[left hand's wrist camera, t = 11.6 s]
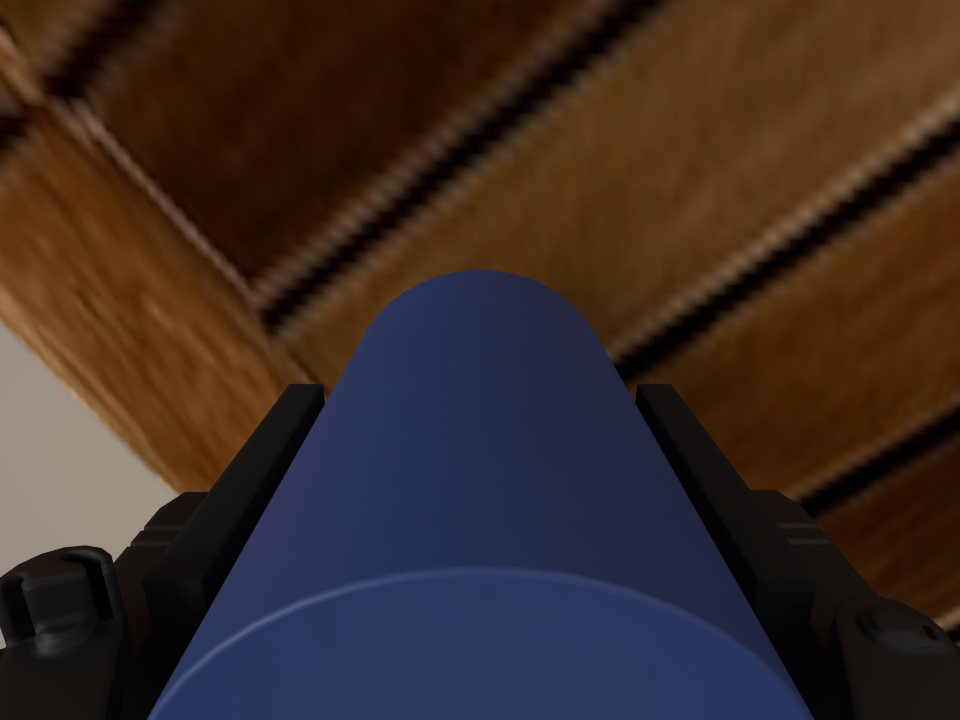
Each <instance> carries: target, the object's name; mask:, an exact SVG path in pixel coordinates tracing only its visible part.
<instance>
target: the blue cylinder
mask: <svg viewBox="0 0 960 720" xmlns="http://www.w3.org/2000/svg"><path fill="white" fill-rule="evenodd" d="M147 720H814V718H813V716H812V714H811V712H810V711H809V709H808V707H807V705H806V704H805V702H804V700H803V698H802V697H801V695H800V693H799V691H798V690H797V688H796V686H795V684H794V683H793V681H792V679H791V677H790V675H789V674H788V672H787V670H786V668H785V667H784V665H783V663H782V661H781V660H780V658H779V656H778V654H777V653H776V651H775V649H774V647H773V646H772V644H771V642H770V640H769V638H768V637H767V635H766V633H765V631H764V630H763V628H762V626H761V624H760V623H759V621H758V619H757V617H756V616H755V614H754V612H753V610H752V608H751V607H750V605H749V603H748V601H747V600H746V598H745V596H744V594H743V593H742V591H741V589H740V587H739V586H738V584H737V582H736V580H735V579H734V577H733V575H732V573H731V571H730V570H729V568H728V566H727V564H726V563H725V561H724V559H723V557H722V556H721V554H720V552H719V550H718V549H717V547H716V545H715V543H714V541H713V540H712V538H711V536H710V534H709V533H708V531H707V529H706V527H705V526H704V524H703V522H702V520H701V519H700V517H699V515H698V513H697V512H696V510H695V508H694V506H693V504H692V503H691V501H690V499H689V497H688V496H687V494H686V492H685V490H684V489H683V487H682V485H681V483H680V482H679V480H678V478H677V476H676V475H675V473H674V471H673V469H672V467H671V466H670V464H669V462H668V460H667V459H666V457H665V455H664V453H663V452H662V450H661V448H660V446H659V445H658V443H657V441H656V439H655V437H654V436H653V434H652V432H651V430H650V429H649V427H648V425H647V423H646V422H645V420H644V418H643V416H642V415H641V413H640V411H639V409H638V408H637V406H636V404H635V402H634V400H633V399H632V397H631V395H630V393H629V392H628V390H627V388H626V386H625V385H624V383H623V381H622V379H621V378H620V376H619V374H618V372H617V371H616V369H615V367H614V365H613V363H612V362H611V360H610V358H609V356H608V355H607V353H606V351H605V349H604V348H603V346H602V344H601V342H600V341H599V339H598V337H597V335H596V333H595V332H594V330H593V329H592V328H591V326H590V325H589V323H588V322H587V320H586V319H585V318H584V317H583V316H582V315H581V314H580V312H579V311H578V310H577V309H576V308H575V307H574V306H573V305H572V304H570V303H569V302H568V301H567V300H565V299H564V298H563V297H562V296H561V295H559V294H557V293H556V292H554V291H553V290H551V289H549V288H548V287H546V286H544V285H542V284H540V283H537V282H535V281H533V280H531V279H528V278H525V277H521V276H518V275H514V274H511V273H505V272H498V271H487V270H472V271H462V272H455V273H450V274H446V275H442V276H438V277H435V278H433V279H430V280H428V281H425V282H422V283H420V284H418V285H417V286H415V287H413V288H411V289H409V290H407V291H406V292H404V293H403V294H401V295H400V296H399V297H397V298H396V299H395V300H393V301H392V302H391V303H390V304H389V305H388V306H387V307H386V308H385V309H384V310H383V311H382V312H380V313H379V315H378V316H377V317H376V318H375V320H374V321H373V322H372V324H371V325H370V326H369V327H368V329H367V331H366V333H365V334H364V336H363V338H362V340H361V341H360V343H359V345H358V347H357V349H356V350H355V352H354V354H353V356H352V357H351V359H350V361H349V363H348V364H347V366H346V368H345V370H344V372H343V373H342V375H341V377H340V379H339V380H338V382H337V384H336V386H335V387H334V389H333V391H332V393H331V395H330V396H329V398H328V400H327V402H326V403H325V405H324V407H323V409H322V410H321V412H320V414H319V416H318V418H317V419H316V421H315V423H314V425H313V426H312V428H311V430H310V432H309V433H308V435H307V437H306V439H305V440H304V442H303V444H302V446H301V448H300V449H299V451H298V453H297V455H296V456H295V458H294V460H293V462H292V463H291V465H290V467H289V469H288V471H287V472H286V474H285V476H284V478H283V479H282V481H281V483H280V485H279V486H278V488H277V490H276V492H275V494H274V495H273V497H272V499H271V501H270V502H269V504H268V506H267V508H266V509H265V511H264V513H263V515H262V517H261V518H260V520H259V522H258V524H257V525H256V527H255V529H254V531H253V532H252V534H251V536H250V538H249V540H248V541H247V543H246V545H245V547H244V548H243V550H242V552H241V554H240V555H239V557H238V559H237V561H236V563H235V564H234V566H233V568H232V570H231V571H230V573H229V575H228V577H227V578H226V580H225V582H224V584H223V586H222V587H221V589H220V591H219V593H218V594H217V596H216V598H215V600H214V601H213V603H212V605H211V607H210V609H209V610H208V612H207V614H206V616H205V617H204V619H203V621H202V623H201V624H200V626H199V628H198V630H197V632H196V633H195V635H194V637H193V639H192V640H191V642H190V644H189V646H188V647H187V649H186V651H185V653H184V655H183V656H182V658H181V660H180V662H179V663H178V665H177V667H176V669H175V670H174V672H173V674H172V676H171V678H170V679H169V681H168V683H167V685H166V686H165V688H164V690H163V692H162V693H161V695H160V697H159V699H158V701H157V702H156V704H155V706H154V708H153V709H152V711H151V713H150V715H149V716H148V718H147Z"/></svg>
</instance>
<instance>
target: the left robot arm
mask: <svg viewBox="0 0 960 720" xmlns="http://www.w3.org/2000/svg"><path fill="white" fill-rule="evenodd" d="M635 404H636V406H637V408H638V409H639V411H640V413H641V415H642V416H643V418H644V420H645V422H646V423H647V425H648V427H649V429H650V430H651V432H652V434H653V436H654V437H655V439H656V441H657V443H658V445H659V446H660V448H661V450H662V452H663V453H664V455H665V457H666V459H667V460H668V462H669V464H670V466H671V467H672V469H673V471H674V473H675V475H676V476H677V478H678V480H679V482H680V483H681V485H682V487H683V489H684V490H685V492H686V494H687V496H688V497H689V499H690V501H691V503H692V504H693V506H694V508H695V510H696V512H697V513H698V515H699V517H700V519H701V520H702V522H703V524H704V526H705V527H706V529H707V531H708V533H709V534H710V536H711V538H712V540H713V541H714V543H715V545H716V547H717V549H718V550H719V552H720V554H721V556H722V557H723V559H724V561H725V563H726V564H727V566H728V568H729V570H730V571H731V573H732V575H733V577H734V579H735V580H736V582H737V584H738V586H739V587H740V589H741V591H742V593H743V594H744V596H745V598H746V600H747V601H748V603H749V605H750V607H751V608H752V610H753V612H754V614H755V616H756V617H757V619H758V621H759V623H760V624H761V626H762V628H763V630H764V631H765V633H766V635H767V637H768V638H769V640H770V642H771V644H772V646H773V647H774V649H775V651H776V653H777V654H778V656H779V658H780V660H781V661H782V663H783V665H784V667H785V668H786V670H787V672H788V674H789V675H790V677H791V679H792V681H793V683H794V684H795V686H796V688H797V690H798V691H799V693H800V695H801V697H802V698H803V700H804V702H805V704H806V705H807V707H808V709H809V711H810V712H811V714H812V716H813V718H814V720H960V646H956V645H954V644H953V643H952V641H951V640H950V639H949V637H948V636H947V634H946V633H945V631H944V630H943V629H942V628H941V627H939V626H938V625H937V624H936V623H935V622H933V621H932V620H931V619H930V618H928V617H927V616H926V615H924V614H922V613H920V612H919V611H917V610H915V609H913V608H911V607H909V606H907V605H905V604H903V603H900V602H897V601H893V600H890V599H887V598H884V597H879V596H877V595H876V594H875V593H874V591H873V590H872V589H871V588H870V587H869V586H868V584H867V583H866V582H865V581H864V580H863V579H862V577H861V576H860V575H859V574H858V573H857V571H856V570H855V569H854V568H853V567H852V566H851V564H850V563H849V562H848V561H847V560H846V559H845V557H844V556H843V555H842V554H841V553H840V552H839V550H838V549H837V548H836V547H835V546H834V545H831V544H830V540H829V539H828V537H827V536H826V535H825V534H824V533H823V532H822V530H821V529H817V525H816V523H815V522H814V521H813V520H812V519H811V517H810V516H809V515H808V514H807V513H806V512H805V510H804V509H803V508H802V507H801V506H800V505H798V504H797V503H795V502H794V501H792V500H790V499H789V498H787V497H786V496H784V495H783V494H781V493H779V492H778V491H776V490H750V489H749V488H748V487H747V485H746V484H745V483H744V481H743V480H742V479H741V477H740V476H739V475H738V473H737V472H736V471H735V469H734V468H733V467H732V465H731V464H730V463H729V461H728V460H727V459H726V457H725V456H724V455H723V453H722V452H721V451H720V449H719V448H718V447H717V445H716V444H715V443H714V441H713V440H712V439H711V437H710V436H709V435H708V433H707V432H706V431H705V429H704V428H703V427H702V425H701V424H700V423H699V421H698V420H697V419H696V417H695V416H694V415H693V413H692V412H691V411H690V409H689V408H688V407H687V405H686V404H685V402H684V401H683V400H682V398H681V397H680V396H679V394H678V393H677V392H676V390H675V389H674V388H673V386H672V385H671V384H637V392H636V402H635ZM324 405H325V398H324V388H323V384H289V386H288V387H287V388H286V390H285V391H284V392H283V394H282V395H281V396H280V398H279V399H278V400H277V402H276V403H275V404H274V406H273V407H272V408H271V410H270V411H269V412H268V414H267V415H266V416H265V418H264V419H263V420H262V422H261V423H260V424H259V426H258V427H257V428H256V430H255V431H254V432H253V434H252V435H251V436H250V438H249V439H248V440H247V442H246V443H245V444H244V446H243V447H242V448H241V450H240V451H239V452H238V454H237V455H236V456H235V458H234V459H233V460H232V462H231V463H230V464H229V466H228V467H227V468H226V470H225V471H224V472H223V474H222V475H221V476H220V478H219V479H218V480H217V482H216V483H215V484H214V486H213V487H212V489H211V490H210V491H209V492H184V493H183V494H181V495H180V496H178V497H177V498H175V499H173V500H172V501H170V502H169V503H167V504H166V505H164V506H163V507H161V508H160V509H159V510H158V511H157V512H156V514H155V515H154V516H153V517H152V518H151V519H150V521H149V522H148V523H147V524H146V525H145V526H144V531H140V532H139V534H138V535H137V536H136V537H135V538H134V539H133V541H132V542H131V546H130V547H127V548H126V549H125V550H124V551H123V553H122V554H121V555H120V556H119V557H118V558H117V560H116V561H115V562H114V563H113V560H112V556H111V555H110V554H109V553H107V552H106V551H105V550H104V549H102V548H98V547H92V546H74V547H64V548H61V549H57V550H54V551H50V552H46V553H43V554H40V555H38V556H36V557H34V558H31V559H29V560H27V561H25V562H23V563H21V564H19V565H17V566H16V567H14V568H13V569H12V570H10V571H9V572H7V573H6V574H5V575H3V576H2V577H0V628H1V631H2V634H3V637H4V640H5V643H6V647H5V648H3V649H0V720H147V718H148V716H149V715H150V713H151V711H152V709H153V708H154V706H155V704H156V702H157V701H158V699H159V697H160V695H161V693H162V692H163V690H164V688H165V686H166V685H167V683H168V681H169V679H170V678H171V676H172V674H173V672H174V670H175V669H176V667H177V665H178V663H179V662H180V660H181V658H182V656H183V655H184V653H185V651H186V649H187V647H188V646H189V644H190V642H191V640H192V639H193V637H194V635H195V633H196V632H197V630H198V628H199V626H200V624H201V623H202V621H203V619H204V617H205V616H206V614H207V612H208V610H209V609H210V607H211V605H212V603H213V601H214V600H215V598H216V596H217V594H218V593H219V591H220V589H221V587H222V586H223V584H224V582H225V580H226V578H227V577H228V575H229V573H230V571H231V570H232V568H233V566H234V564H235V563H236V561H237V559H238V557H239V555H240V554H241V552H242V550H243V548H244V547H245V545H246V543H247V541H248V540H249V538H250V536H251V534H252V532H253V531H254V529H255V527H256V525H257V524H258V522H259V520H260V518H261V517H262V515H263V513H264V511H265V509H266V508H267V506H268V504H269V502H270V501H271V499H272V497H273V495H274V494H275V492H276V490H277V488H278V486H279V485H280V483H281V481H282V479H283V478H284V476H285V474H286V472H287V471H288V469H289V467H290V465H291V463H292V462H293V460H294V458H295V456H296V455H297V453H298V451H299V449H300V448H301V446H302V444H303V442H304V440H305V439H306V437H307V435H308V433H309V432H310V430H311V428H312V426H313V425H314V423H315V421H316V419H317V418H318V416H319V414H320V412H321V410H322V409H323V407H324Z"/></svg>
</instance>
